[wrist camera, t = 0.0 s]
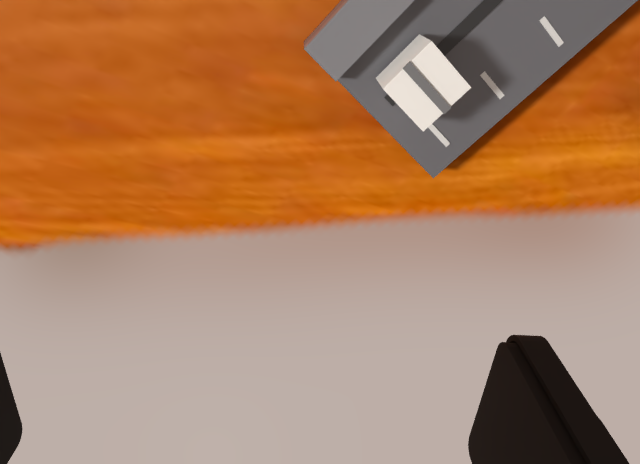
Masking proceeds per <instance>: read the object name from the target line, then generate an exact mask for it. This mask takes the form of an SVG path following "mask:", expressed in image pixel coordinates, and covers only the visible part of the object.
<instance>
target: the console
mask: <svg viewBox="0 0 640 464" xmlns="http://www.w3.org/2000/svg"><path fill="white" fill-rule="evenodd" d="M636 1H638V0H341V1H340V2H339V3H338V4H337V6H336V7H335V8H334V9H333V10H332V11H331V12H330V13H329V14H328V16H327V17H326V18H325V19H324V20H323V21H322V22H321V23H320V24H319V25H318V27H317V28H316V29H315V30H314V31H313V32H312V33H311V34H310V35H309V37H308V38H307V39H306V40H305V41H304V49H305V50H306V52H307V53H308V54H309V55H310V56H311V57H312V58H313V59H314V60H315V61H316V62H317V63H318V64H319V65H320V66H321V67H322V68H323V69H324V70H325V71H326V72H327V73H328V74H329V75H330V76H331V77H332V78H333V79H334V80H335V81H337V80H338V81H339V82H340V83H341V84H342V85H343V86H344V87H345V88H346V89H347V90H348V91H349V92H350V93H351V94H352V96H353V97H354V98H355V99H356V100H357V101H358V102H359V103H360V104H361V105H362V106H363V107H364V108H365V109H366V110H367V111H368V112H369V113H370V114H371V115H372V116H373V117H374V118H375V119H376V120H377V121H378V122H379V123H380V124H381V125H382V126H383V127H384V128H385V129H386V130H387V131H388V132H389V133H390V134H391V135H392V136H393V137H394V138H395V140H396V141H397V142H398V143H399V144H400V145H401V146H402V147H403V148H404V149H405V150H406V151H407V152H408V153H409V154H410V155H411V156H412V157H413V158H414V159H415V160H416V161H417V162H418V163H419V164H420V165H421V166H422V167H423V168H424V169H425V170H426V171H427V172H428V173H429V174H430V175H431V176H432V177H433V178H434V177H435V176H436V175H438V174H439V173H440V172H441V171H442V170H443V169H445V168H446V167H447V166H448V165H449V164H450V163H451V162H453V161H454V160H455V159H456V158H457V157H458V156H459V155H461V154H462V153H463V152H464V151H465V150H466V149H467V148H469V147H470V146H471V145H472V144H473V143H474V142H476V141H477V140H478V139H479V138H480V137H481V136H482V135H484V134H485V133H486V132H487V131H488V130H489V129H490V128H492V127H493V126H494V125H495V124H496V123H497V122H499V121H500V120H501V119H502V118H503V117H504V116H505V115H507V114H508V113H509V112H510V111H511V110H512V109H513V108H515V107H516V106H517V105H518V104H519V103H520V102H521V101H523V100H524V99H525V98H526V97H527V96H528V95H530V94H531V93H532V92H533V91H534V90H535V89H536V88H538V87H539V86H540V85H541V84H542V83H543V82H544V81H546V80H547V79H548V78H549V77H550V76H551V75H552V74H554V73H555V72H556V71H557V70H558V69H559V68H561V67H562V66H563V65H564V64H565V63H566V62H567V61H569V60H570V59H571V58H572V57H573V56H574V55H575V54H577V53H578V52H579V51H580V50H581V49H582V48H584V47H585V46H586V45H587V44H588V43H589V42H590V41H592V40H593V39H594V38H595V37H596V36H597V35H598V34H600V33H601V32H602V31H603V30H604V29H605V28H606V27H608V26H609V25H610V24H611V23H612V22H613V21H615V20H616V19H617V18H618V17H619V16H620V15H621V14H623V13H624V12H625V11H626V10H627V9H628V8H629V7H631V6H632V5H633V4H634V3H635V2H636ZM419 34H420V35H422V36H424V37H425V38H427V39H429V40H431V41H432V42H433V43H434V44H435V46H436V47H437V48H438V49H439V50H440V51H441V53H442V54H443V55H444V56H445V57H446V58H447V60H448V61H449V62H450V63H451V64H452V65H453V67H454V68H455V69H456V70H457V71H458V73H459V74H460V75H461V76H462V77H463V78H464V80H465V81H466V82H467V83H468V84H469V85H470V87H471V88H470V89H469V90H468V91H467V92H466V93H465V94H464V95H463V96H462V97H461V98H459V99H458V100H457V101H456V102H455V103H454V104H453V105H452V106H451V109H450V110H448V111H447V112H446V113H445V114H442V115H441V116H440V117H439V118H438V119H437V120H435V121H434V122H433V123H432V124H431V125H430V126H429V127H428V128H427V129H426V130H425V131H422V130H421V129H420V128H419V127H418V126H417V125H416V124H415V123H414V122H413V120H412V119H411V118H410V117H409V116H408V115H407V114H406V113H405V112H404V111H403V110H402V109H401V108H400V107H399V106H398V105H397V103H396V102H395V101H394V100H393V99H392V98H391V97H390V96H389V95H388V94H387V93H386V92H385V91H384V90H383V88H382V87H381V85H380V84H379V82H378V81H377V79H376V77H377V76H378V75H379V74H380V73H381V72H382V71H383V70H384V69H385V68H386V67H387V66H388V65H389V64H390V63H391V62H392V61H393V60H394V59H395V58H396V57H397V56H398V55H399V54H400V53H401V52H402V51H403V50H404V49H405V48H406V47H407V46H408V45H409V44H410V43H411V42H412V41H413V40H414V39H415V38H416V37H417V36H418V35H419Z"/></svg>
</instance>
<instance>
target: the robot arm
mask: <svg viewBox="0 0 640 464" xmlns="http://www.w3.org/2000/svg"><path fill="white" fill-rule="evenodd" d="M21 435H22V423H21V420H20V417H19V414H18V410H17V407H16V403H15V400H14V397H13V393H12V390H11V387H10V383H9V380H8V377H7V374H6V370H5V367H4V363H3V360H2V357H1V353H0V464H7V463H8V461H9V460H10V458H11V456H12V455H13V453H14V451H15V450H16V448H17V446H18V444H19V442H20V439H21ZM468 446H469V455H470V458H471V461H472V464H629V463H628V461H627V459H626V458H625V456H624V455H623V453H622V452H621V450H620V449H619V447H618V446H617V444H616V443H615V441H614V440H613V438H612V437H611V435H610V434H609V432H608V431H607V429H606V428H605V426H604V425H603V423H602V422H601V420H600V419H599V418H598V417H597V415H596V414H595V413H594V411H593V410H592V408H591V406H590V405H589V403H588V402H587V400H586V399H585V397H584V396H583V394H582V393H581V391H580V390H579V388H578V387H577V385H576V384H575V382H574V381H573V379H572V378H571V376H570V375H569V373H568V371H567V370H566V368H565V367H564V365H563V364H562V362H561V361H560V359H559V358H558V356H557V355H556V353H555V352H554V350H553V349H552V347H551V346H550V344H549V343H548V341H547V340H546V339H545V338H543V337H542V336H525V335H511V336H510V337H509V338H508V339H507V341H506V342H502V343H500V344H499V345H498V348H497V351H496V354H495V357H494V360H493V363H492V366H491V370H490V373H489V376H488V379H487V382H486V386H485V389H484V392H483V395H482V398H481V402H480V405H479V408H478V411H477V414H476V417H475V420H474V424H473V427H472V430H471V433H470V436H469V444H468Z"/></svg>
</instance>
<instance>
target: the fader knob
mask: <svg viewBox="0 0 640 464" xmlns="http://www.w3.org/2000/svg"><path fill="white" fill-rule="evenodd" d="M376 79H377V81H378V82H379V84H380V85H381V87H382V88H383V90H384V91H385V92H386V93H387V94H388V95H389V96H390V97H391V98H392V99H393V100H394V101H395V102H396V103H397V105H398V106H399V107H400V108H401V109H402V110H403V111H404V112H405V113H406V114H407V115H408V116H409V117H410V118H411V119H412V120H413V122H414V123H415V124H416V125H417V126H418V127H419V128H420V129H421V130H422V131H425V130H426V129H427V128H428V127H429V126H430V125H431V124H432V123H433V122H434V121H435V120H437V119H438V118H439V117H440V116H441V115H442V114H445V113H446V112H447V111H448V110H450V109H451V106H452V105H453V104H454V103H455V102H456V101H457V100H458V99H459V98H461V97H462V96H463V95H464V94H465V93H466V92H467V91H468V90H469V89H470V88H471V87H470V85H469V84H468V83H467V82H466V81H465V80H464V78H463V77H462V76H461V75H460V74H459V73H458V71H457V70H456V69H455V68H454V67H453V65H452V64H451V63H450V62H449V61H448V60H447V58H446V57H445V56H444V55H443V54H442V53H441V51H440V50H439V49H438V48H437V47H436V46H435V44H434V43H433V42H432V41H431V40H429V39H427V38H425V37H424V36H422V35H420V34H419V35H418V36H417V37H416V38H415V39H414V40H413V41H412V42H411V43H410V44H409V45H408V46H407V47H406V48H405V49H404V50H403V51H402V52H401V53H400V54H399V55H398V56H397V57H396V58H395V59H394V60H393V61H392V62H391V63H390V64H389V65H388V66H387V67H386V68H385V69H384V70H383V71H382V72H381V73H380V74H379V75H378V76H377V77H376Z"/></svg>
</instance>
